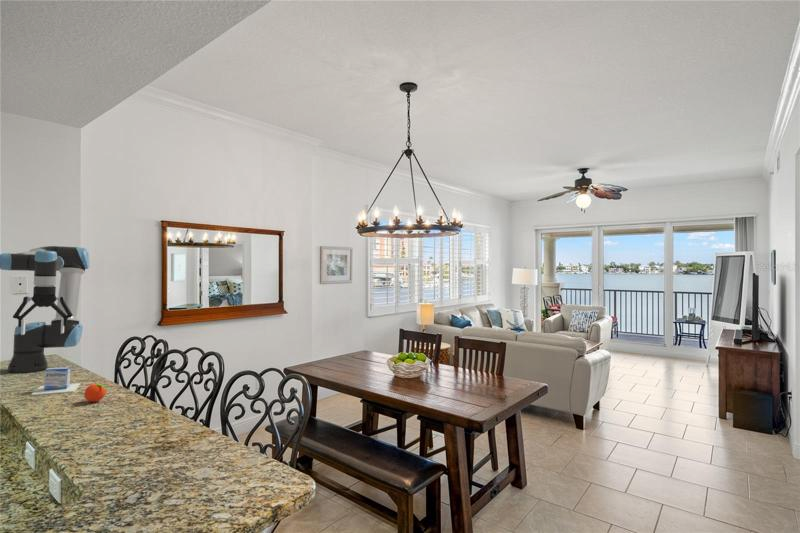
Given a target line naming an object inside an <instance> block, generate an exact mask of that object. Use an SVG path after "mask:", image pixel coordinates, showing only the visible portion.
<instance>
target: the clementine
mask: <svg viewBox="0 0 800 533" xmlns="http://www.w3.org/2000/svg"><path fill="white" fill-rule="evenodd" d="M106 389H107V388H106V387H105V385H103V384H102V383H93V384H90V385H88V386H87V387H86V388H85V390H84V394H83V395H84V398H85V399H86V400H87V401H88V402H90V403H92V402H93V403H95V402H96V403H97V402H99V401H101V400H102V399H103V398H104V397H105V395H106V393H107V390H106Z"/></svg>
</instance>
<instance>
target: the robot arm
mask: <svg viewBox="0 0 800 533" xmlns="http://www.w3.org/2000/svg"><path fill="white" fill-rule="evenodd" d="M89 256H90V255H89V251H88V249H87V248H85V247H79V246H62V245H61V246H60V245H59V246H57V245H47V246H40V247H34V248H32V249H29V250H28V251H24V252H19V253H18V252H17V253H10V252H8V253H7V252H5V253H1V254H0V270H2V271H23V272H27V271H29V272H30V271H31V272H32V271H33V272H34V274H33V294H32V295H33V296H24V297H23V299H22V303H21V304H20V305H19V307H18V308H17V310H16V311H15V312H14V314H13V315H12V318H13V319H16V320H18V321H17V323H18V324H17V326H15V328H14V334H13V351H12V352H13V354H12V357H11V359H10V361H9V364H8V366H7V372H8V373H12V374H13V373H32V372H39V371H43V370H44V371H45V370H46V369H47V368H49V367H48V365H49V364H48V360H47V358H46V355H45V349H49V348H50V349H51V348H52V349H53V348H70V347H71V348H72V347H76V346H78V344H79V343H80V341H81V339H82V338H81V337H82V334H83V328H84V327H83V324H81V323H80V320H79V319H78V318H77V315H78V305H79V298H80V297H79V296H80V290H81V289H80V287H81V278H82V275H83V274H85V273H86V270H88V269H90V257H89ZM57 271H58V273H60V280H59V286H58V287H59V288H58V296H56V294H57V293H56V291H57V289H56V288H57V287H56V284H57ZM31 301H32V302H33V304H32V305H30V306H29V308H27V309H26V310H25V311H24V312H23V313H22V311H23V309H24V308H25V307H26V306H27V304H28V303H29V302H31ZM56 301H57V304H56V303H55V302H56ZM37 307H38V308H43V307H45V308H48V307H51V309H53V310H54V311H56V312H55V317H54V318H53V319H52V320H51V322H50V324H47V323H46V321H39V322H29V323H26V318H25V317H26V316H27V315H29V313H31V311H33V310H34V309H35V308H37ZM21 313H22V314H21Z"/></svg>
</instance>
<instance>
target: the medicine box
mask: <svg viewBox="0 0 800 533" xmlns="http://www.w3.org/2000/svg"><path fill="white" fill-rule="evenodd" d="M71 368H72V367H71V366H66V367H65V366H61V367H60V366H59V367H57V366H56V367H48V368H46V369H44V385H43V386H44V390H56V389H67V388H68V387H69V386H70V384H71V371H72V370H71Z"/></svg>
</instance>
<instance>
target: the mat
mask: <svg viewBox="0 0 800 533" xmlns="http://www.w3.org/2000/svg"><path fill="white" fill-rule="evenodd" d="M79 385H80V386H81V382H79V383H77V382H76V383H70V386H69V387H68V388H67V389H56V390H44V385H40V386H38V387H37V388H36V390H34V391H33V392H32V393H31V394H30V396H31V397H32V396H44V395H55V394H56V395H57V394H69V393H71V394H72V393H75V392H76V391H77V389H78V388H79V387H80V386H79Z"/></svg>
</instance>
